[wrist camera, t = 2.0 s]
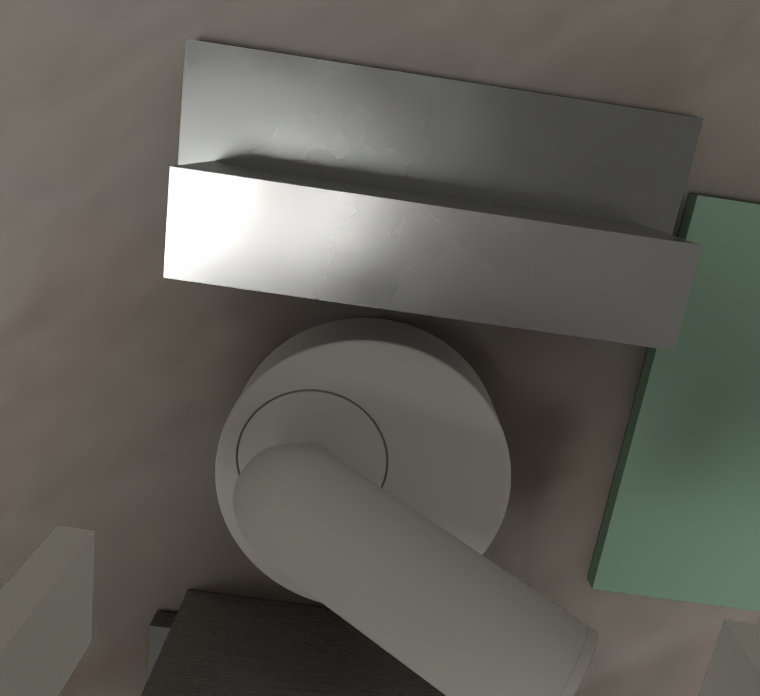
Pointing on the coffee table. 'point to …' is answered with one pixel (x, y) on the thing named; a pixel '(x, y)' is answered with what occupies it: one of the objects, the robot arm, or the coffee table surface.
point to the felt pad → (695, 435)
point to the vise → (405, 266)
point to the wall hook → (392, 506)
